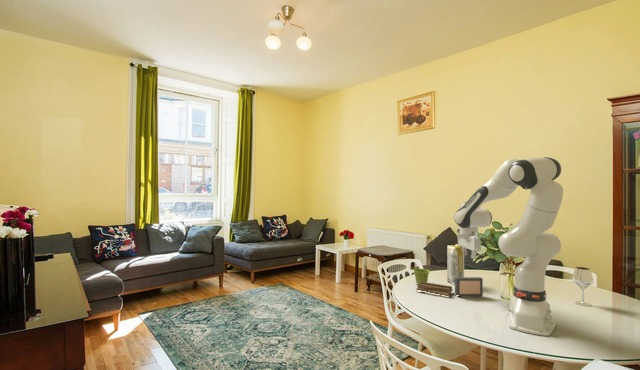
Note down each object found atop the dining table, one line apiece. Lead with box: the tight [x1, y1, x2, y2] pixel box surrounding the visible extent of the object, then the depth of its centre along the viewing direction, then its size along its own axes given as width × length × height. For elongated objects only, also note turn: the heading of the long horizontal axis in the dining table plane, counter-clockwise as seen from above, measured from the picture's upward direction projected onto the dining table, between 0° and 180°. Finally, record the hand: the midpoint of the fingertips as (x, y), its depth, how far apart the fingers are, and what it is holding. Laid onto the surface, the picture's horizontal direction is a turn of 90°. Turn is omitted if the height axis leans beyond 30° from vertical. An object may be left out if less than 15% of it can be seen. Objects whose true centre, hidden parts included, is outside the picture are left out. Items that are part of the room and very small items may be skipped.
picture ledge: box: [416, 281, 453, 297], centre depth 181 cm, size 10×17×4 cm, turn 56°
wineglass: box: [572, 266, 594, 307], centre depth 164 cm, size 8×8×18 cm
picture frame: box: [454, 276, 484, 296], centre depth 175 cm, size 2×14×10 cm, turn 91°
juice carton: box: [446, 243, 465, 285], centre depth 200 cm, size 9×8×24 cm
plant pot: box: [413, 268, 430, 284], centre depth 196 cm, size 9×9×9 cm
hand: (469, 256), depth 176 cm, fingers open, 8 cm apart
